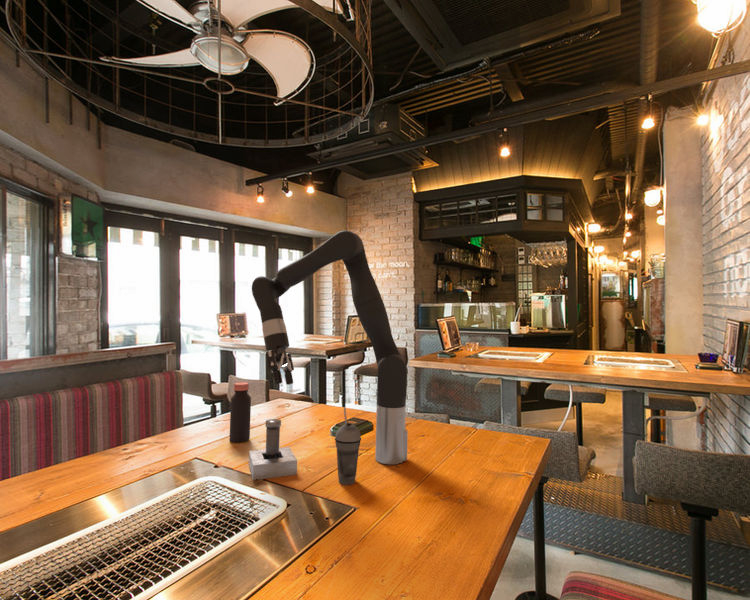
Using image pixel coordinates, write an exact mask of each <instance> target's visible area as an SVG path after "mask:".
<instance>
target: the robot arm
mask: <svg viewBox="0 0 750 600" xmlns="http://www.w3.org/2000/svg"><path fill="white" fill-rule="evenodd" d="M340 260H341V261H342V262H343V264H344V266H345V269H346V271H347V274H348V276H349V281H350V290H351V298H352V302H353V307H354V308H355V311H356V314H357V317H358V321H359V323H360V325H361V327H362V329H363V330H364V333H365V334H366V336H367V338H368V339H369V342H370V344H371V346H372V349H373V353H374V357H375V360H376V366H377V374H376V375H377V377H376V378H377V382H376V383H377V384H376V416H375V417H376V418H375V419H376V421H375V422H376V423H375V427H376V428H375V452H374V455H375V461H376V462H378V463H381V464H383V465H391V466H392V465H399V463H400V464H401V463H403V461H404V462H407V461H408V436H409V435H408V434H409V433H408V429H406V414H407V413H406V409H407V408H406V403H407V391H408V389H407V386H408V367H407V364H406V362H405V360H404V358H403V357H402V354H401V353H400V351H399V348H398V347H397V345H396V343H395V340H394V337H393V333H392V329H391V324H390V320H389V316H388V313H387V310H386V309H387V308H386V306H385V303H384V301H383V298H382V295H381V293H380V290H379V288H378V286H377V283H376V280H375V279H374V276H373V274H372V272H371V268H370V266H369V261H368V258H367V254H366V250H365V245H364V242H363V240H362V238H361V237H360V236H359V235H358V234H357V233H355V232H353V231H350V230H347V229H346V230H339V231H338V232H336V233H335V234H334V235H332V236H331V237H330V238H329V239H327V240H326V241H325V242H324V243H322V244H320V245H319V246H317V248H315V249H314V250H312V251H310V252H309V253H307V254H305V255H304V256H302V257H300V258H298V259H296V260H295V261H293V262H291V263H289V264H286V265H285V266H283V267H282V268H280V269H279V270H278V271H277V273H276V277H274V278H269V277H267V276H263V275H260V276H257V277H256V278H254V280H253V281H252V285H251V293H252V296H253V299H254V302H255V304H256V306H257V308H258V311H259V313H260V315H259V316H260V320H261V326H262V329H261V330H262V335H263V342H264V347H265V355H266V360H267V366H268V367H267V368H268V370H269V371H271V373H272V374H273V381H274V384H275V385H280V384H282V383H283V376H282V372H281V370H282V371H283V373H284V378H285V379H284V381H285V383H286V385H293V384H294V379H293V374H292V372H293V371H294V370H295V368H294V364H293V358H292V354H291V353H290V352H288V353H287V351H286V350H287V349H288V348H289V347H290V341H289V336H288V331H287V327H286V324H285V320H284V316H283V314H284V313H283V310H282V307H281V305H280V304H279V303H277V301H276V300H277V299H279V298H281V297H282V296H283V295H284V294H285V293H287V292H288V291H289V290H290V288H292V287H294V286H297V285H298V284H300V283H302V282H304V281H305V280H307V279H309V278H310V277H312V276H313V275H314V274H315V273H317V272H318V271H320V270H321V269H323V268H324V267H326V266H328V265H330V264H332V263H335V262H337V261H340Z"/></svg>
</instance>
